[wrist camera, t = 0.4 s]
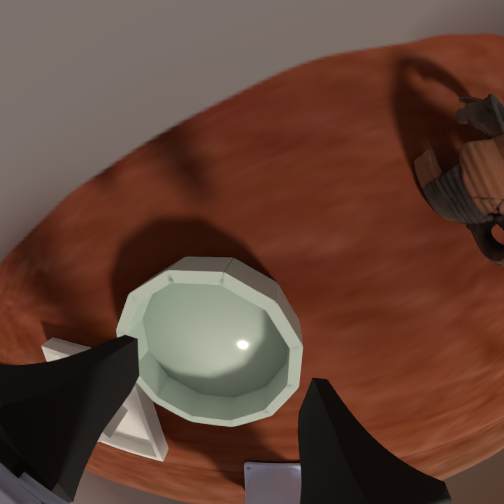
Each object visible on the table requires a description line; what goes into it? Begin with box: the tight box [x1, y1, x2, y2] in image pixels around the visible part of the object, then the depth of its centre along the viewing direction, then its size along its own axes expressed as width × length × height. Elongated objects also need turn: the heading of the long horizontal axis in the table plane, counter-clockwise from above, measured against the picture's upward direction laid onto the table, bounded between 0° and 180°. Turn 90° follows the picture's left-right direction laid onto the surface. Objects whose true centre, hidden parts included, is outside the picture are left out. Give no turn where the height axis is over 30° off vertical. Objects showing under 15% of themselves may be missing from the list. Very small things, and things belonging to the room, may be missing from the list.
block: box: [97, 405, 128, 442], centre depth 21 cm, size 4×4×5 cm
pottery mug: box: [414, 94, 504, 266], centre depth 14 cm, size 12×10×8 cm
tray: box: [42, 337, 169, 461], centre depth 23 cm, size 14×12×2 cm
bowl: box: [116, 257, 303, 427], centre depth 19 cm, size 13×13×4 cm
